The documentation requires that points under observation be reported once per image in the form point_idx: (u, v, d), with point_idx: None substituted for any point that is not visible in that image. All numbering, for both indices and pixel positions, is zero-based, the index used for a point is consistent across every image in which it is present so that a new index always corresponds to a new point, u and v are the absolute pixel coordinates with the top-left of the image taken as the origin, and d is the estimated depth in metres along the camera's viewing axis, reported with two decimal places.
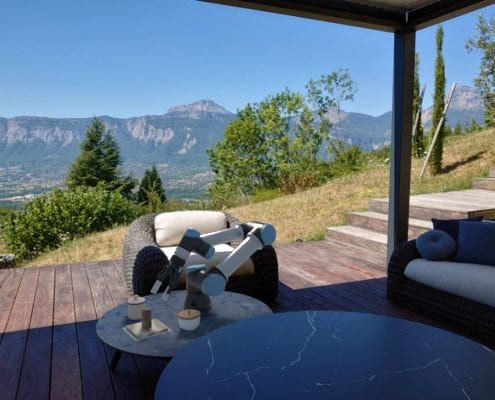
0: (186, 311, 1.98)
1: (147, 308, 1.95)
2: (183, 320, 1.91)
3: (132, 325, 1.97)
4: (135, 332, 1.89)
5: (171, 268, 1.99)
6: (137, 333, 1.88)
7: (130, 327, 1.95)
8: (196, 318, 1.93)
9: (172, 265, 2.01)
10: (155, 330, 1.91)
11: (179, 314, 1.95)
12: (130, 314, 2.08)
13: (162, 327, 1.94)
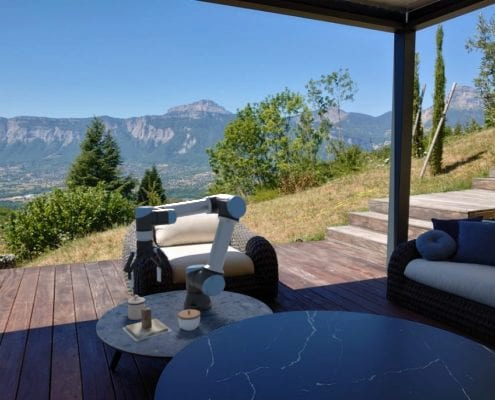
0: (186, 311, 1.98)
1: (147, 308, 1.95)
2: (183, 320, 1.91)
3: (132, 325, 1.97)
4: (135, 332, 1.89)
5: None
6: (137, 333, 1.88)
7: (130, 327, 1.95)
8: (196, 317, 1.93)
9: None
10: (155, 330, 1.91)
11: (179, 314, 1.95)
12: (130, 314, 2.08)
13: (162, 327, 1.94)
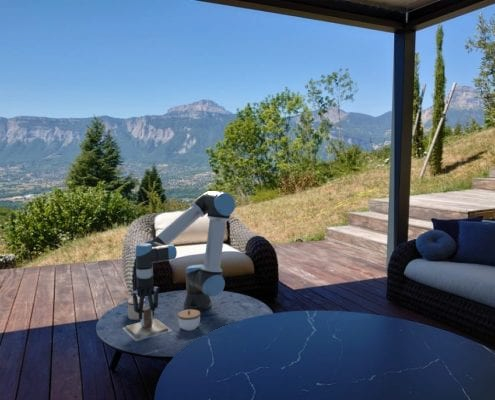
0: (186, 311, 1.98)
1: (147, 308, 1.95)
2: (183, 320, 1.91)
3: (132, 325, 1.97)
4: (135, 332, 1.89)
5: None
6: (137, 333, 1.88)
7: (130, 327, 1.95)
8: (196, 317, 1.93)
9: None
10: (155, 330, 1.91)
11: (179, 314, 1.95)
12: (130, 314, 2.08)
13: (162, 327, 1.94)
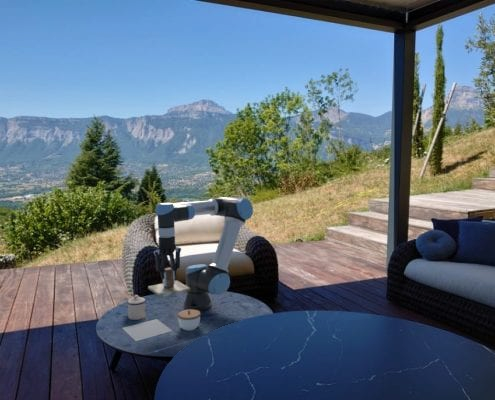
0: (186, 311, 1.98)
1: (169, 268, 1.94)
2: (183, 320, 1.91)
3: (154, 286, 1.97)
4: (157, 291, 1.88)
5: None
6: (159, 292, 1.87)
7: (152, 287, 1.94)
8: (196, 318, 1.93)
9: None
10: (177, 290, 1.90)
11: (179, 314, 1.95)
12: (130, 314, 2.08)
13: (184, 287, 1.93)
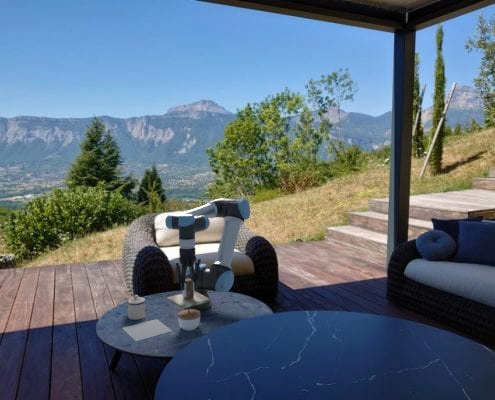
0: (186, 311, 1.98)
1: (189, 279, 1.95)
2: (183, 320, 1.91)
3: (173, 296, 1.97)
4: (178, 302, 1.89)
5: None
6: (180, 303, 1.88)
7: (172, 298, 1.95)
8: (196, 318, 1.93)
9: None
10: (198, 301, 1.91)
11: (179, 314, 1.95)
12: (130, 314, 2.08)
13: (204, 298, 1.94)
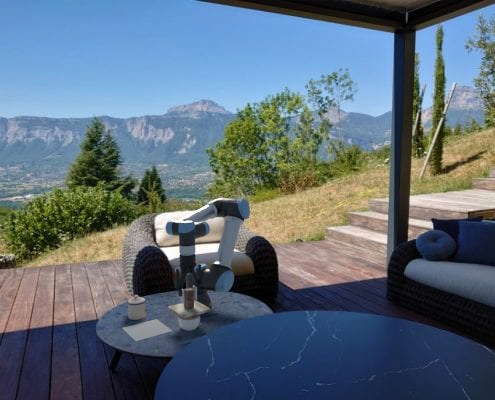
0: None
1: (190, 289, 1.95)
2: (183, 320, 1.91)
3: (174, 306, 1.98)
4: (179, 312, 1.90)
5: None
6: (181, 313, 1.89)
7: (172, 308, 1.95)
8: (196, 317, 1.93)
9: None
10: (198, 310, 1.92)
11: None
12: (130, 314, 2.08)
13: (204, 308, 1.95)
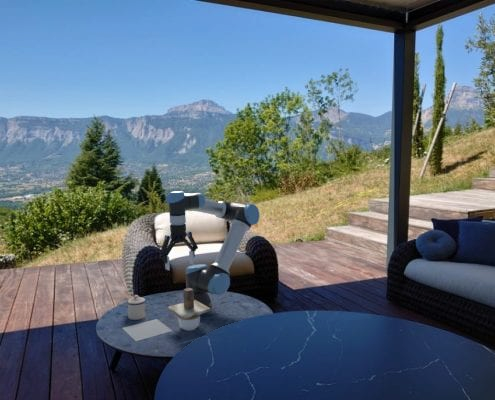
0: None
1: (189, 289, 1.95)
2: (183, 320, 1.91)
3: (174, 306, 1.98)
4: (179, 312, 1.90)
5: None
6: (181, 313, 1.89)
7: (172, 308, 1.95)
8: (196, 317, 1.93)
9: None
10: (198, 310, 1.92)
11: None
12: (130, 314, 2.08)
13: (204, 308, 1.95)
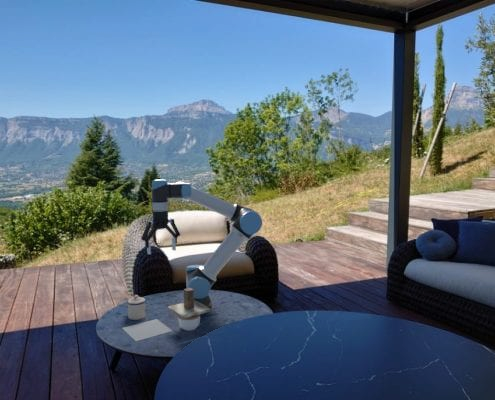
0: None
1: (190, 289, 1.95)
2: (183, 320, 1.91)
3: (174, 306, 1.98)
4: (179, 312, 1.90)
5: None
6: (181, 313, 1.89)
7: (172, 308, 1.95)
8: (196, 317, 1.93)
9: None
10: (198, 310, 1.92)
11: None
12: (130, 314, 2.08)
13: (204, 308, 1.95)
